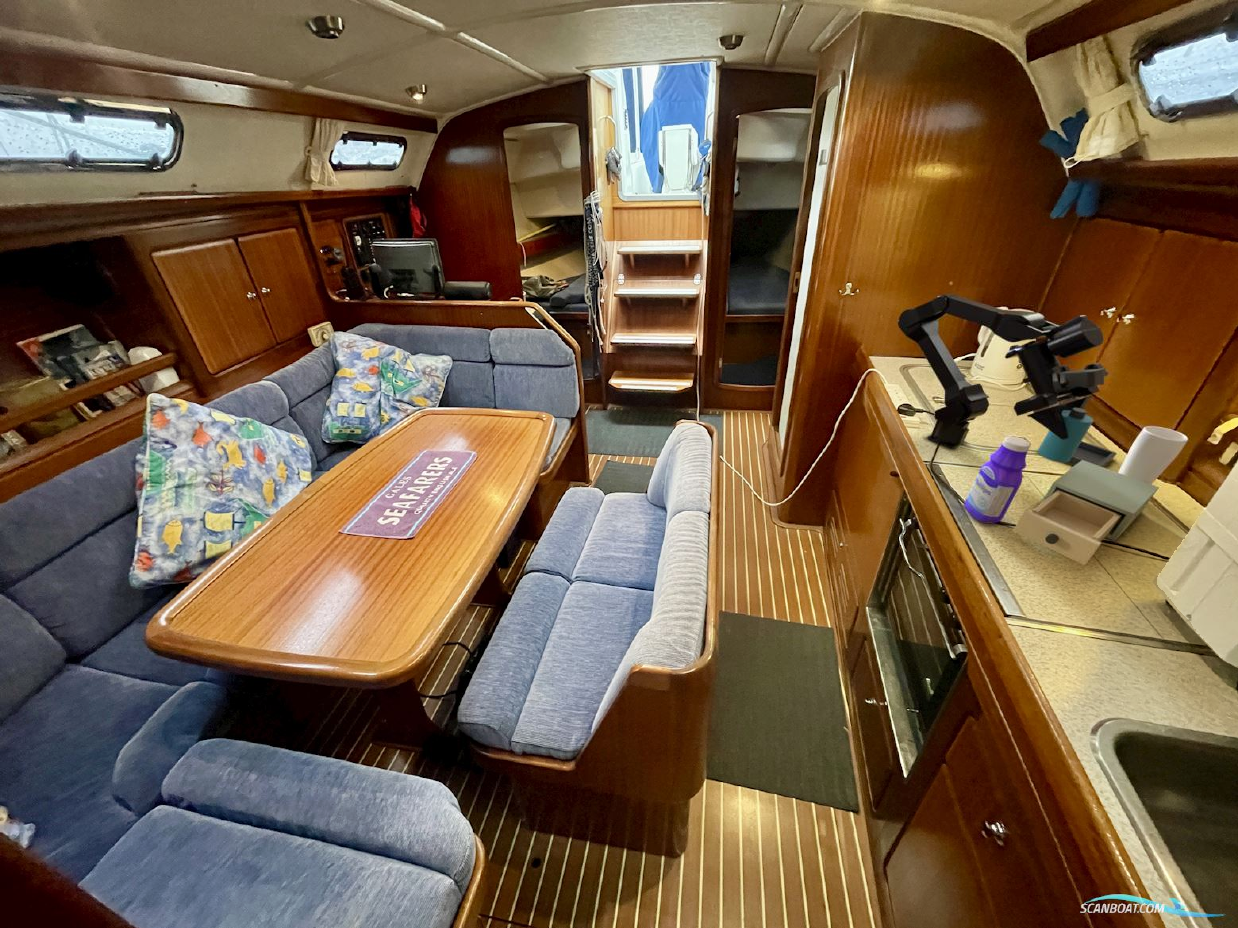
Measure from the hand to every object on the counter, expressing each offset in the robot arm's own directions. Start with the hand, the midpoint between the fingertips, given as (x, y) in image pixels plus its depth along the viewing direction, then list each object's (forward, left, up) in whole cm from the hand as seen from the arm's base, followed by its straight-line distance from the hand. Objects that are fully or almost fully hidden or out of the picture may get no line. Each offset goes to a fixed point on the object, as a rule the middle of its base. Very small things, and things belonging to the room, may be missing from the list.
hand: (1073, 436), depth 101 cm
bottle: (-3, -22, -14) cm, 26 cm away
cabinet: (+9, -1, -13) cm, 16 cm away
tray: (-1, +23, -13) cm, 27 cm away
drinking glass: (+11, +13, -14) cm, 22 cm away
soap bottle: (-1, 0, -6) cm, 6 cm away
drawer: (+9, -17, -12) cm, 23 cm away
